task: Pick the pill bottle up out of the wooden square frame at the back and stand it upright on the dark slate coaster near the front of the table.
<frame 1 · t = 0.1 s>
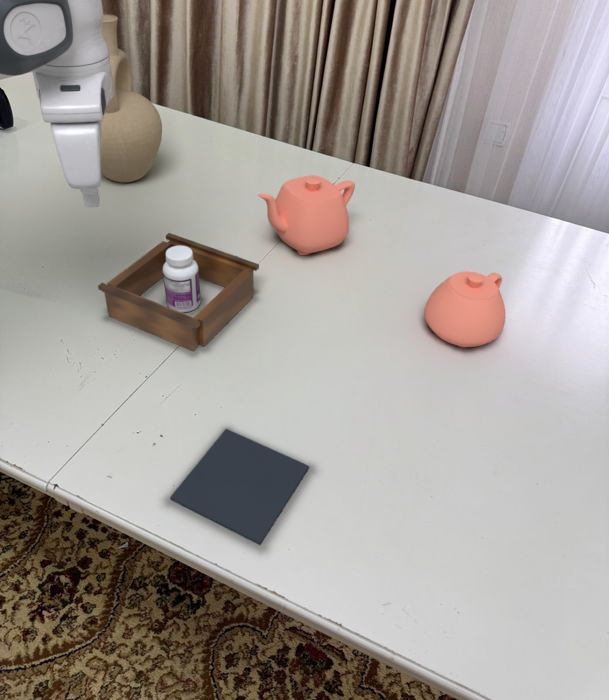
hand: (93, 187, 83), 21 cm above the table, tool pointing down, fingers open, 8 cm apart
coaster: (241, 483, 74), on the table
vase: (125, 176, 129), on the table
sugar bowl: (463, 328, 99), on the table
teapot: (304, 241, 115), on the table
wooden square frame: (183, 303, 99), on the table
pill bottle: (183, 304, 99), resting in wooden square frame
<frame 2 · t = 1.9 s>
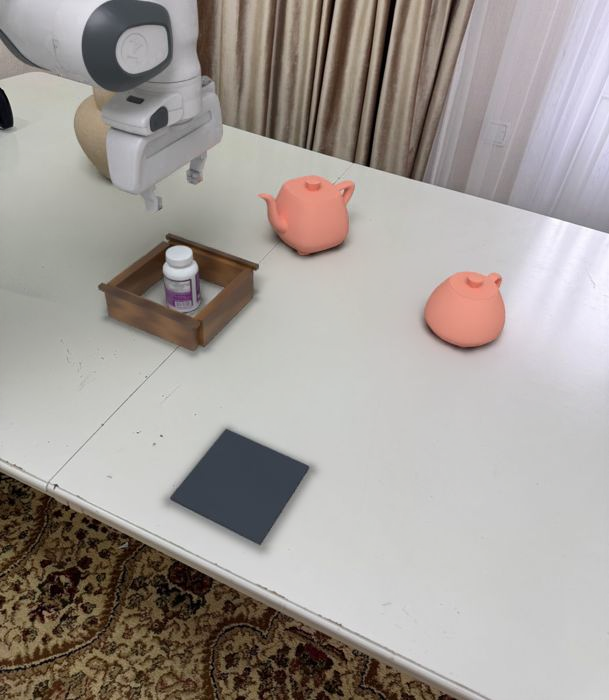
hand: (175, 195, 86), 19 cm above the table, tool pointing down, fingers open, 8 cm apart
nothing on the table moved.
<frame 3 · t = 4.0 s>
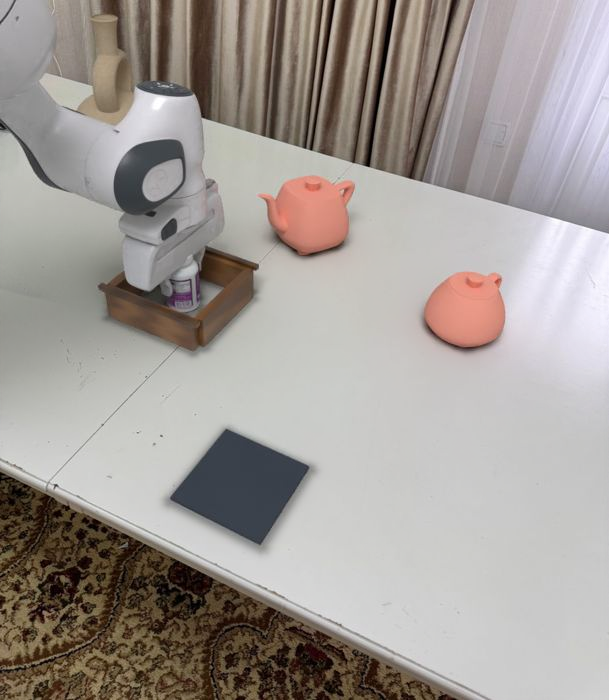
hand: (181, 282, 96), 4 cm above the table, tool pointing down, fingers closed on pill bottle, 5 cm apart
pill bottle: (183, 304, 99), resting in wooden square frame, touching gripper
everything else where it was.
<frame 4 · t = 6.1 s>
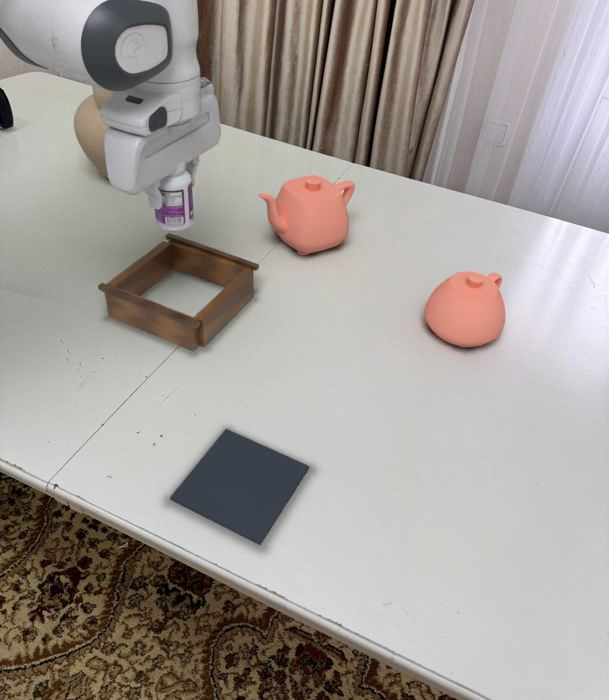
hand: (172, 196, 86), 19 cm above the table, tool pointing down, fingers closed on pill bottle, 5 cm apart
pill bottle: (175, 224, 89), point 15 cm above the table, touching gripper
everything else where it was.
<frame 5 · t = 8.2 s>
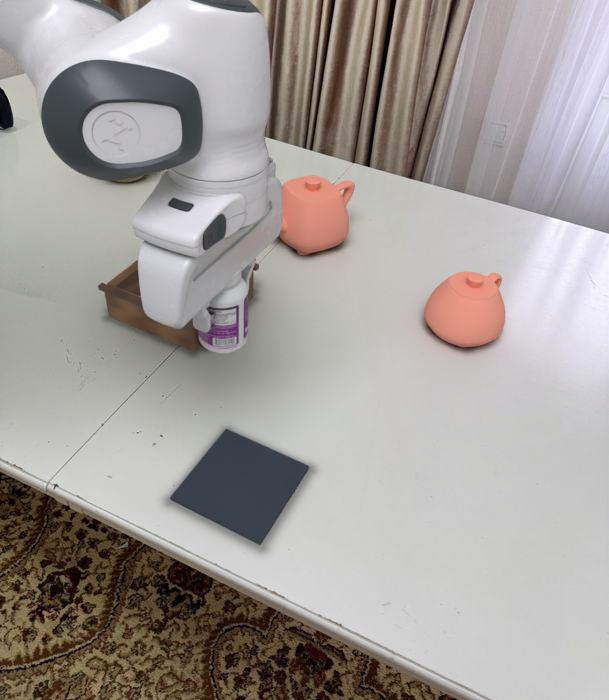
hand: (221, 309, 65), 21 cm above the table, tool pointing down, fingers closed on pill bottle, 5 cm apart
pill bottle: (223, 340, 68), point 17 cm above the table, touching gripper
everything else where it was.
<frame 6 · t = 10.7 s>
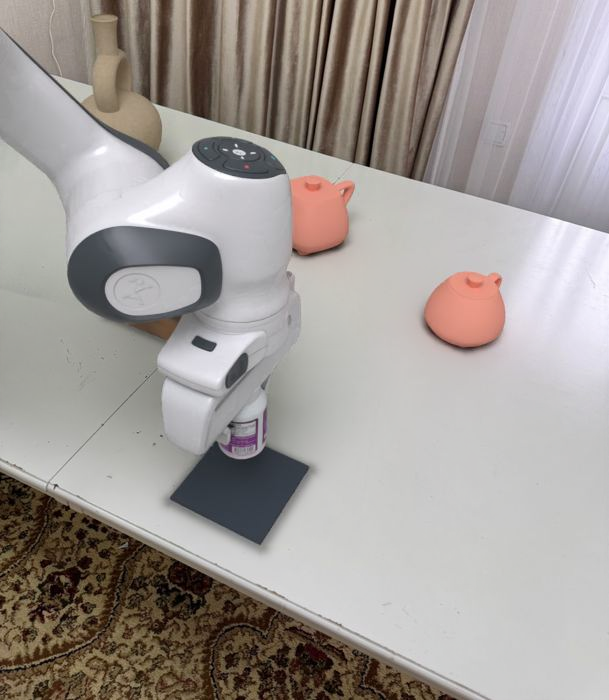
hand: (241, 417, 66), 12 cm above the table, tool pointing down, fingers closed on pill bottle, 5 cm apart
pill bottle: (241, 443, 69), point 8 cm above the table, touching gripper
everything else where it was.
when the fingers open (5 cm above the table, at t = 12.8 s): pill bottle stays where it is, resting on coaster.
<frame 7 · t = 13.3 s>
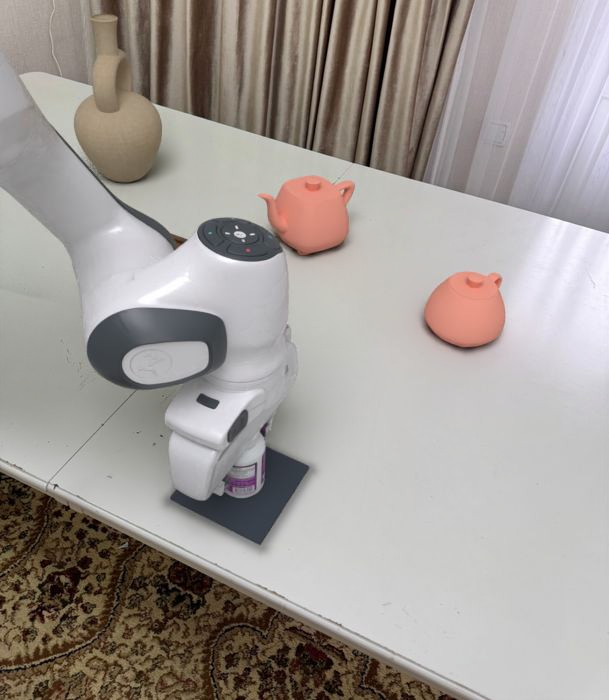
hand: (241, 458, 71), 5 cm above the table, tool pointing down, fingers open, 8 cm apart
pill bottle: (241, 482, 74), resting on coaster
everything else where it was.
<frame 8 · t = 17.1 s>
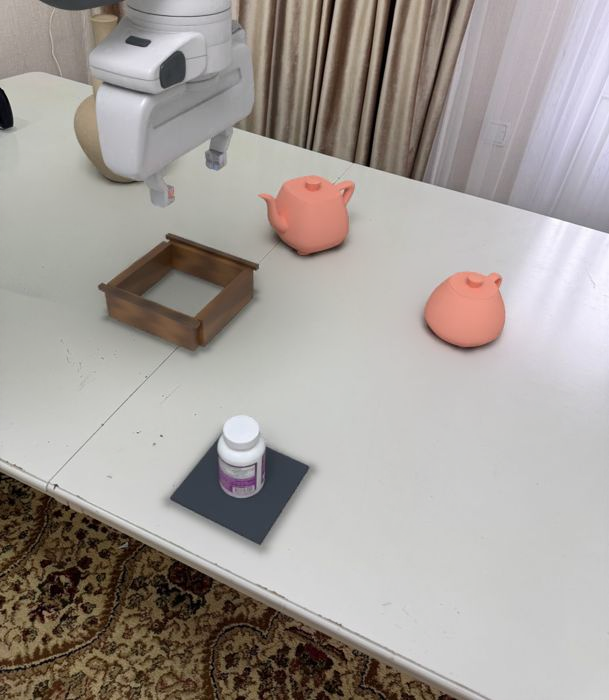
hand: (191, 184, 64), 31 cm above the table, tool pointing down, fingers open, 8 cm apart
nothing on the table moved.
at the end: pill bottle inside the target area on the coaster (0.0 cm from its centre), point 0.3 cm above the coaster's base; pill bottle tilted 0°; pill bottle touching coaster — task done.
